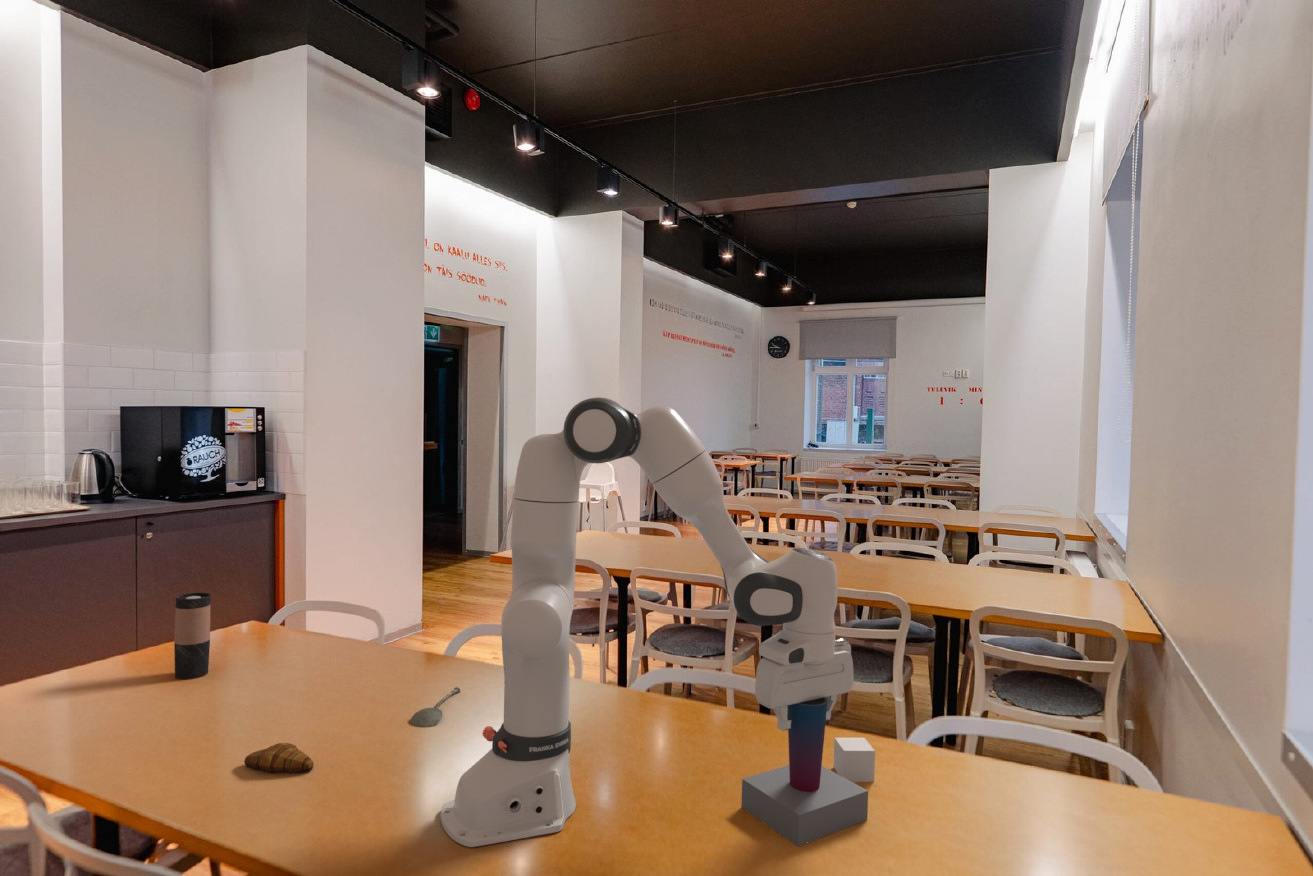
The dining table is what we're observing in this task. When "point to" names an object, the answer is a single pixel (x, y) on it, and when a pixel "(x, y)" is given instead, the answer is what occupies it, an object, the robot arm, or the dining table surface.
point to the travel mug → (192, 635)
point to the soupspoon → (430, 714)
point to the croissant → (280, 759)
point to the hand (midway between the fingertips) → (804, 724)
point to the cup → (806, 743)
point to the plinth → (804, 804)
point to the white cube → (854, 759)
